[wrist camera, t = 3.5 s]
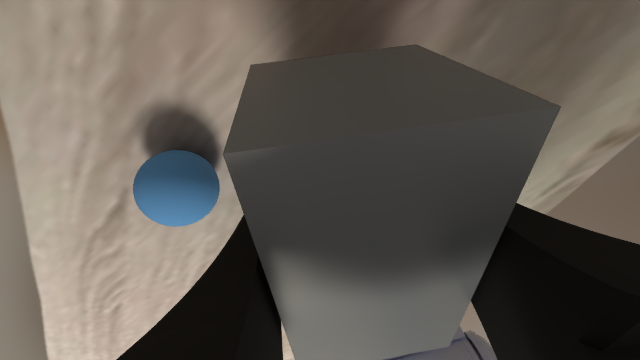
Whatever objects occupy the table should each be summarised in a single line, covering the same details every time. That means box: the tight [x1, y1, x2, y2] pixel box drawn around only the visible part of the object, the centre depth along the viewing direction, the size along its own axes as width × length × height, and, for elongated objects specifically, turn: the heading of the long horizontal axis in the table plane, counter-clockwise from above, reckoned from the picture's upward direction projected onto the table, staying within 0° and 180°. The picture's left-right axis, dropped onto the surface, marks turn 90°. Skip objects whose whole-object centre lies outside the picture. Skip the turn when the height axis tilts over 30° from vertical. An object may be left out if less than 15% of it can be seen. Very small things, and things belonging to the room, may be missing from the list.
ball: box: [133, 150, 220, 226], centre depth 18 cm, size 5×5×5 cm
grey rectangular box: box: [223, 45, 561, 360], centre depth 10 cm, size 10×6×6 cm, turn 5°
